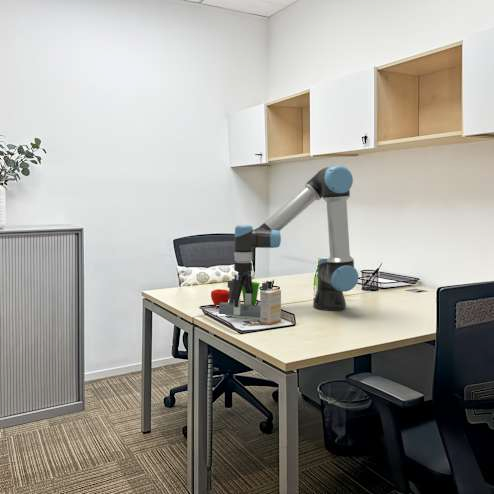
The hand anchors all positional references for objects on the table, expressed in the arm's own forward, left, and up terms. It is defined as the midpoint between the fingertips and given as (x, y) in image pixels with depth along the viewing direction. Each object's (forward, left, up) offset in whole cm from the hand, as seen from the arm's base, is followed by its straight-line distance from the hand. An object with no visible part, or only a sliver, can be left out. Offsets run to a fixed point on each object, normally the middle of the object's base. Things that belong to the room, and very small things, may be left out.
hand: (242, 311), depth 214 cm
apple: (+17, -16, -2) cm, 23 cm away
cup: (+4, -20, -2) cm, 21 cm away
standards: (0, -8, -2) cm, 9 cm away
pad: (0, 0, -2) cm, 2 cm away
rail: (0, 0, -2) cm, 2 cm away
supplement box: (-14, +5, -2) cm, 15 cm away
